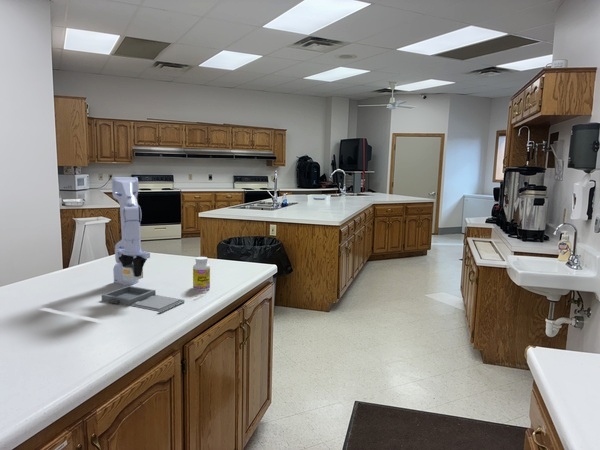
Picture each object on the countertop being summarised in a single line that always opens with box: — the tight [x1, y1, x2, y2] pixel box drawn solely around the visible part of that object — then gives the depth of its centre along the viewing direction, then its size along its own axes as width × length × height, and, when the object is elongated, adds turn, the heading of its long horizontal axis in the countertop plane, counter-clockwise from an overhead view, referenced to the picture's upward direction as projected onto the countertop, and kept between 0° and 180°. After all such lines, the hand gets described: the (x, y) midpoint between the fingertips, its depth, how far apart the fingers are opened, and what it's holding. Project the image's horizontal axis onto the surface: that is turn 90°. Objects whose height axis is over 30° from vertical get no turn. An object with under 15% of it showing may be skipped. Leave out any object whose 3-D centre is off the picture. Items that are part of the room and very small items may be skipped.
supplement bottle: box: [192, 256, 211, 291], centre depth 175 cm, size 7×7×13 cm
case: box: [101, 285, 185, 315], centre depth 157 cm, size 26×14×3 cm, turn 67°
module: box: [122, 264, 144, 282], centre depth 161 cm, size 4×6×5 cm, turn 157°
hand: (133, 275), depth 162 cm, fingers closed on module, 4 cm apart
